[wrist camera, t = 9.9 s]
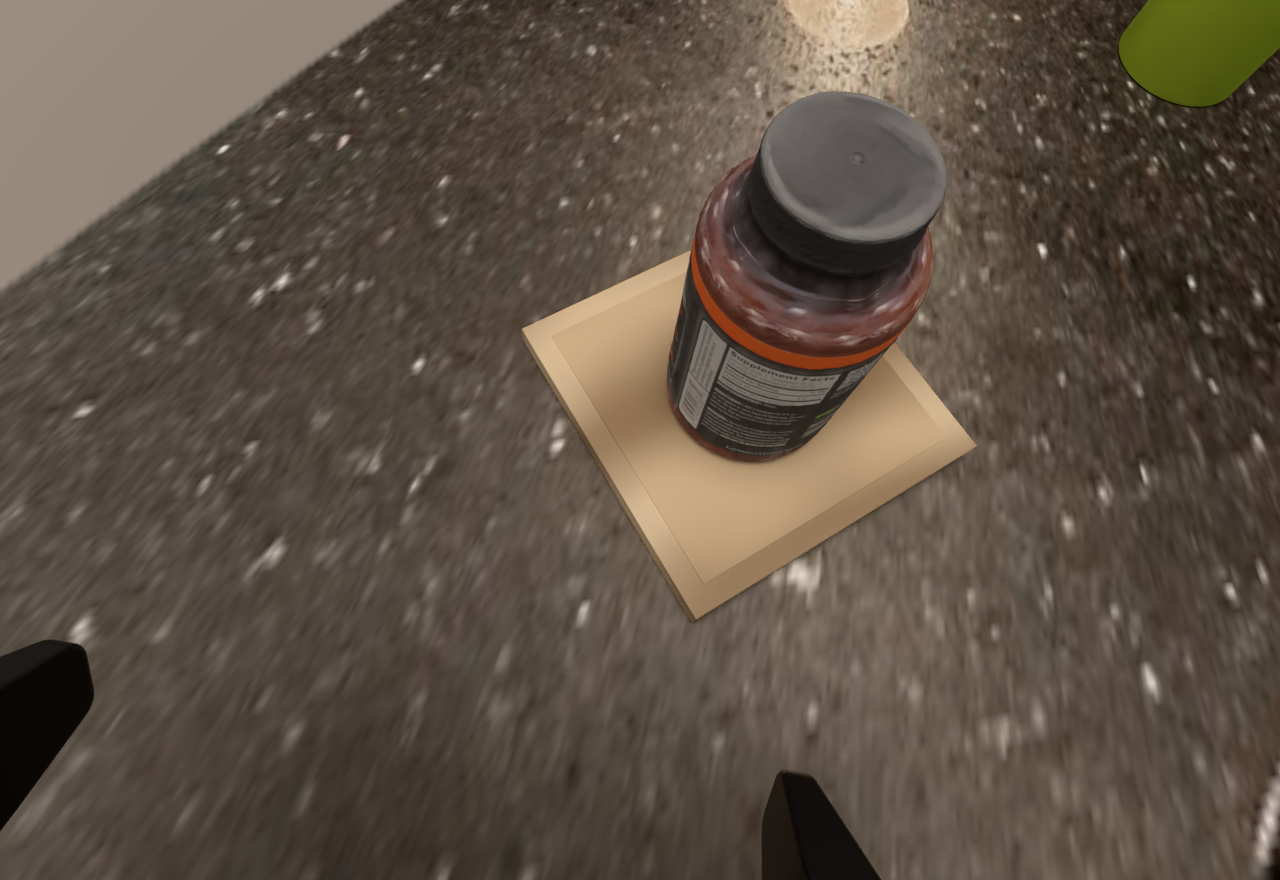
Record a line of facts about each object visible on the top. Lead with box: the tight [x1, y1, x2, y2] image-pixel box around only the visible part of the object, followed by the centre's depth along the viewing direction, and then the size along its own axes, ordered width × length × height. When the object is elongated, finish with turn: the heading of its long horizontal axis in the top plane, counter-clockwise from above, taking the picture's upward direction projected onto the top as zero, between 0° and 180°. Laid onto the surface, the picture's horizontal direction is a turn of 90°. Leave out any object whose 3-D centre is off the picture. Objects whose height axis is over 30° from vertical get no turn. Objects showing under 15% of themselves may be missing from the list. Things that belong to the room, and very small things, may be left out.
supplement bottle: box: [667, 91, 947, 462], centre depth 20 cm, size 6×6×11 cm
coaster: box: [522, 250, 976, 623], centre depth 25 cm, size 12×12×1 cm
